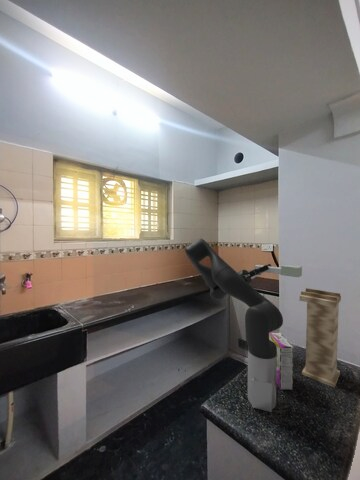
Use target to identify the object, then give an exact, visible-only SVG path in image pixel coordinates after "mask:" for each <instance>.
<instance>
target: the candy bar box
mask: <svg viewBox="0 0 360 480" xmlns="http://www.w3.org/2000/svg"><path fill="white" fill-rule="evenodd" d="M269 340H271V341H272V342H274V343H275V344H276V347H277V372H276V386H278V388H279V390H283V391H284V390H285V391H286V390H293V389H294V387H293V386H294V346H293V345H292V343H291V342H289V340H288V339H287V338H286V337H285V336H284V335H283V334H282V332H269Z"/></svg>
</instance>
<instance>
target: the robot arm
mask: <svg viewBox="0 0 360 480" xmlns="http://www.w3.org/2000/svg"><path fill="white" fill-rule="evenodd" d="M184 252H185V255H186V256H187V258H188V259H189V261H190V262H191V263H192V265H193V267H195V269H196V270H197V272H198V273H199V274H200V276H201V277H202V279H203V280H204V282H205V284H206V286H207V287H208V288H210V291H209V296H210V298H211V299H212V300H214V301H219V300H222V299H223V298H224V297H226V296H227V295H228V296H231V297H233V298H235V299H237V300H239V301H240V302H242V303H244V304H245V305H246V306H247V307H248V308H247V310H246V312H245V316H244V329H245V330H244V331H245V333H244V334H245V342H246V344H247V399H248V402H249V403H250V405H251V408H254V409H258V410H261V411H265V412H269V413H272V412H273V409H275V407H276V406H277V383H276V372H277V347H276V344H275V343H274V342H272V341H271V340H269V333H273V332H274V331H276V330H279V329H280V328H281V327H282V326H283V323H284V318H283V315H282V312H281V311H280V309H279V308H278V306H276V305H275V304H274V303H273V302H271V301H270V300H269V299H267V298H266V297H265V296H264V295H262V294H261V293H260V292H258V291H257V290H256V289H255V288H254V287H253V286H252V285H251V284H252V282H253V279H255V278H258V277H259V276H261V275H262V274H263V273H265V272H264V271H266V270H268V269H269V267H268V266H270V267H273V266H272V264H271V263H267V264H265V265H262V266H263V267H261V268H258V269H255V268H253V269H250V270H246V269H242V270H240V271H238V272H237V271H236V270H235V269H234V268H233V267H231V266H230V265H229V264H228V263H227V262H226V261H225V260H224V259H223V258H222V257H221V256H220V255H219V254H218V253H217V252H216V251H215V249H213V247H211V246H210V244H209V243H208V242H207V241H205V240H204V239H203V238H202V237H201V238H198V239H196V240H194V241H193V242H192V243H190V244H189V245H187V246H186V247H185V249H184ZM207 257H209V259H210V263H211V264H210V265H211V267H210V266H207V265H205V264H202V263H201V261H203V260H204V259H205V258H207Z"/></svg>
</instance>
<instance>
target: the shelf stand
mask: <svg viewBox="0 0 360 480" xmlns="http://www.w3.org/2000/svg"><path fill="white" fill-rule="evenodd" d="M341 300H342V296H341V293H339V292H332V291H326V290H320V289H313V288H309V287H308V288H307V287H305V291H300V295H299V300H298V301H300V302H306V329H305V333H306V335H305V340H306V341H305V366H304V367H303V369H302V371H301V375H303V376H305V377H308V378H310V379H312V380H315V381H317V382H319V383H322V384H324V385H327V386H329V387H331V388H334V389H335V388H336V386H337V382H338V380H339V377H340V375H341V371H340V370H339V369H338V367H337V365H338V342H339V340H338V339H339V338H338V337H339V335H338V334H339V333H338V332H339V310H340V309H339V308H340V307H339V306H340V304H339V303H340V302H341Z"/></svg>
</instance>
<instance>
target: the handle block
mask: <svg viewBox="0 0 360 480" xmlns="http://www.w3.org/2000/svg"><path fill="white" fill-rule="evenodd" d="M263 266H264V265H261V264H256V265H254V269H258V268H261V267H263ZM268 267H269V269H268V270H266V271H264V272H263V273H268V274H275V275H280V276H285V277H286V276H287V277H291V278H292V277H293V278H300V277H302V276H303V266H302V265H293V264H282V265H280V267H277V266H272V267H270V266H268Z"/></svg>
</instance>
